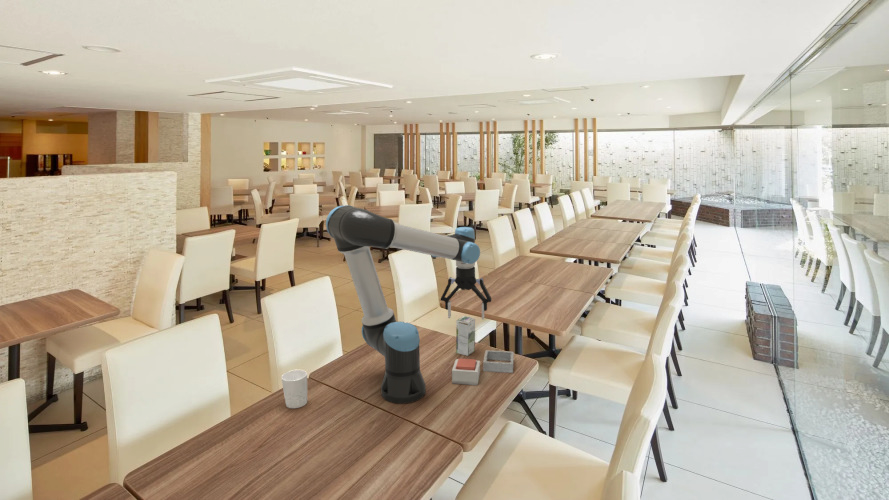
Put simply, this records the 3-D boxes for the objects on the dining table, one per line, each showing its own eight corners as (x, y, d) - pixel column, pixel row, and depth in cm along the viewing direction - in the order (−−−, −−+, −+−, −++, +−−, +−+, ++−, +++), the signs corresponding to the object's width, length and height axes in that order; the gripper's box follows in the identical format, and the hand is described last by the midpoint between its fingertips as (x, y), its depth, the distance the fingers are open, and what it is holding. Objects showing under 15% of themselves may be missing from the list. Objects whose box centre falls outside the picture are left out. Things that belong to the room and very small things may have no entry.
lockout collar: (483, 371, 170) (483, 362, 170) (485, 358, 181) (485, 350, 180) (512, 373, 168) (513, 364, 168) (513, 360, 179) (513, 351, 178)
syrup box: (462, 348, 191) (462, 315, 188) (475, 351, 188) (475, 317, 185) (455, 353, 186) (455, 319, 183) (468, 356, 183) (468, 322, 180)
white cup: (294, 395, 155) (292, 368, 153) (314, 399, 152) (311, 371, 150) (278, 407, 148) (276, 378, 146) (298, 411, 145) (296, 382, 143)
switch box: (452, 383, 161) (452, 370, 160) (455, 371, 170) (455, 359, 169) (477, 385, 160) (477, 372, 159) (479, 373, 169) (479, 360, 168)
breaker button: (456, 379, 162) (456, 366, 161) (458, 371, 168) (458, 358, 167) (474, 380, 161) (474, 367, 160) (476, 372, 167) (476, 359, 166)
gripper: (432, 268, 178) (434, 319, 182) (496, 269, 174) (496, 322, 178) (436, 263, 185) (437, 313, 190) (497, 264, 181) (497, 315, 185)
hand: (466, 317), depth 184 cm, fingers open, 13 cm apart
